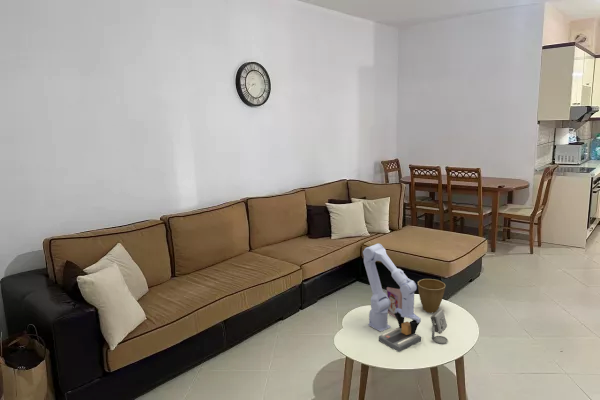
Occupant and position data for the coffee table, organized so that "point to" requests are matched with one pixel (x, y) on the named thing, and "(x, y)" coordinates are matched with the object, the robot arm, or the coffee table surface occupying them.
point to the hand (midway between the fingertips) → (407, 330)
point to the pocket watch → (438, 338)
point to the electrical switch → (439, 321)
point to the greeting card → (394, 300)
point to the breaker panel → (399, 339)
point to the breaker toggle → (406, 328)
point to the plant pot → (431, 294)
